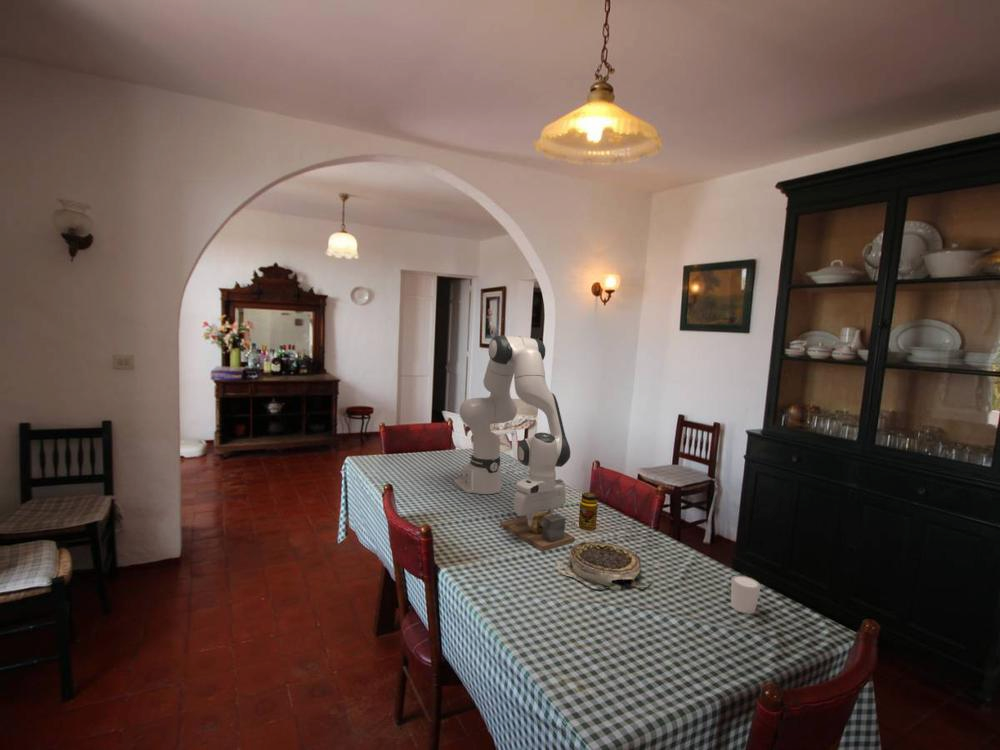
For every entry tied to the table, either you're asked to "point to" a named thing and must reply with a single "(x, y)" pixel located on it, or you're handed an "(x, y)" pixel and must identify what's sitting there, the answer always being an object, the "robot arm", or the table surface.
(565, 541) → the rod board
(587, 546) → the pie
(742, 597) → the white cup
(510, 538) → the table surface
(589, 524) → the condiment
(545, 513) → the nut
